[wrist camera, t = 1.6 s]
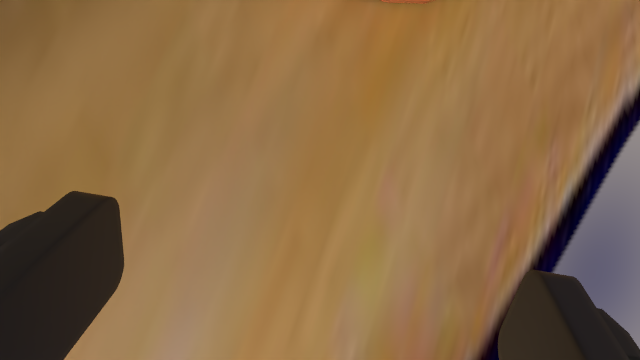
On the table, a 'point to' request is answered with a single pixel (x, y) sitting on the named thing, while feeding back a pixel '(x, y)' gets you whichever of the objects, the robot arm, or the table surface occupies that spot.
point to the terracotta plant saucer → (408, 1)
